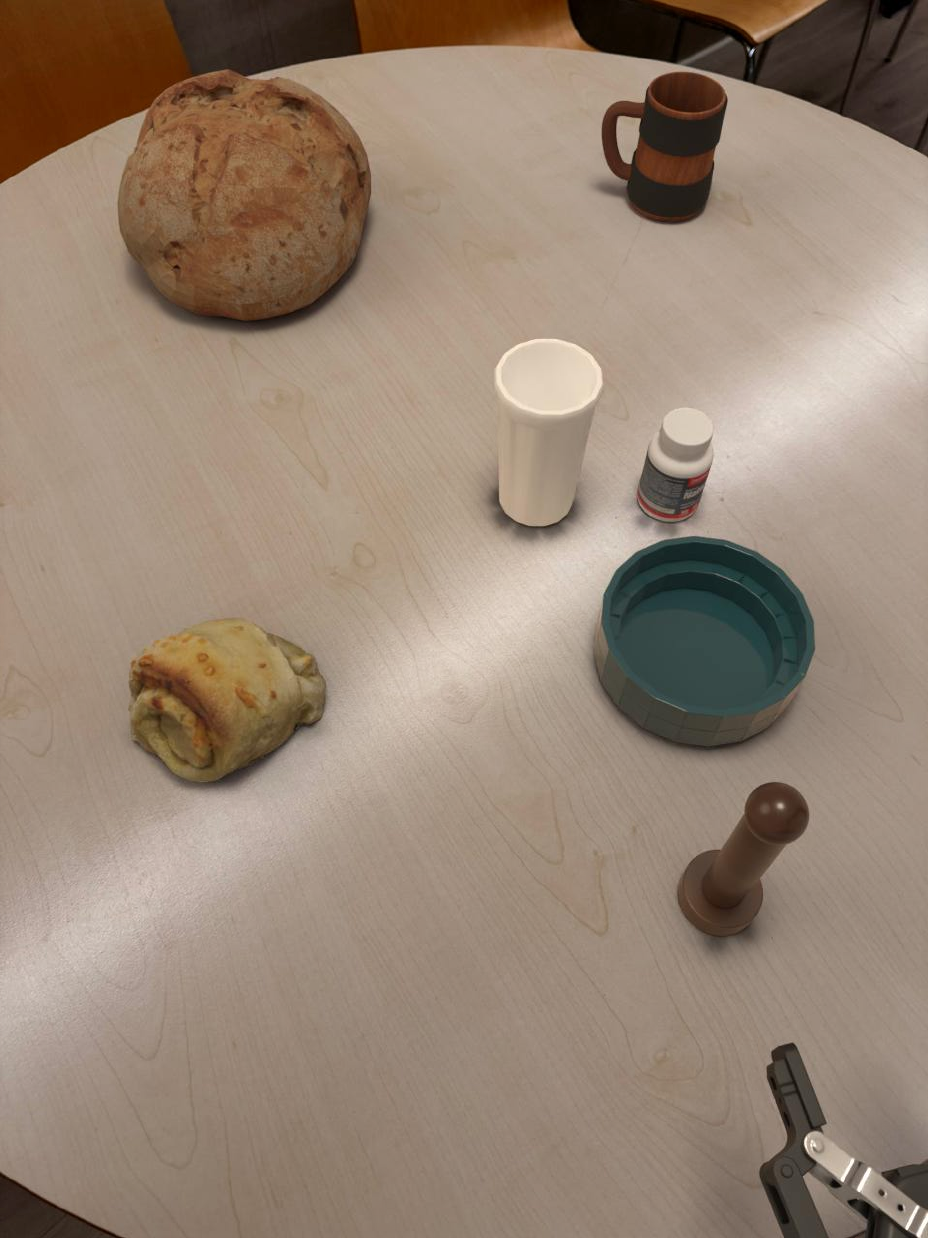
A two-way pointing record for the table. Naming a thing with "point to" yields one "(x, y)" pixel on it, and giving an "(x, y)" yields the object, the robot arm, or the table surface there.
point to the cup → (543, 426)
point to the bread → (244, 195)
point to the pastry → (221, 696)
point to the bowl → (702, 640)
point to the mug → (669, 144)
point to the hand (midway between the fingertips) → (861, 1025)
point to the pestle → (742, 861)
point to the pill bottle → (677, 465)
